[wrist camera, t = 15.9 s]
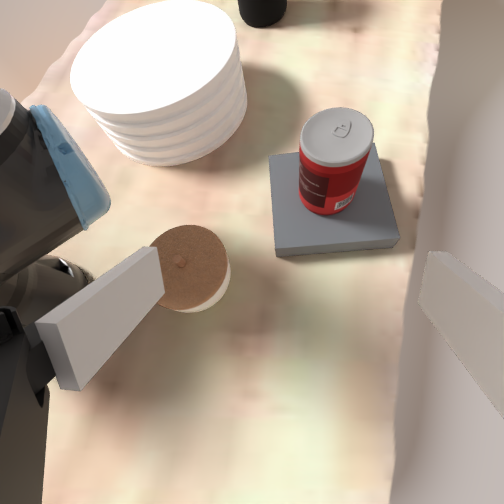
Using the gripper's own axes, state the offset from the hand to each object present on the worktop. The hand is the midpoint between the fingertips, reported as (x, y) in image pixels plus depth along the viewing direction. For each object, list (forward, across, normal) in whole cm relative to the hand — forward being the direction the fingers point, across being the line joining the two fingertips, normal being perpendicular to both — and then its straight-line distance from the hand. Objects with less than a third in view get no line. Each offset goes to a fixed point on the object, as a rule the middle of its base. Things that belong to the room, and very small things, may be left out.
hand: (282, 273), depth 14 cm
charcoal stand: (+31, +5, -3) cm, 31 cm away
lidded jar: (+22, -13, -13) cm, 28 cm away
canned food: (+29, +5, -1) cm, 29 cm away
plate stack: (+47, -23, +12) cm, 54 cm away
